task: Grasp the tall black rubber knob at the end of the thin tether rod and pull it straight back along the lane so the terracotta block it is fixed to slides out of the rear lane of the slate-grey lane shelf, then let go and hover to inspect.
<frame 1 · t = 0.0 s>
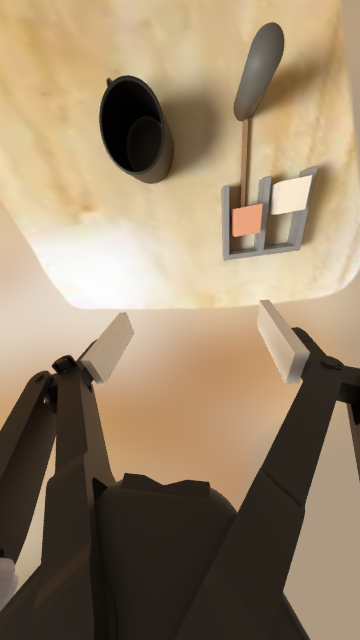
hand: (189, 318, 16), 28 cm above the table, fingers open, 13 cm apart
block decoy: (279, 198, 32), on the table
lane shelf: (258, 216, 34), on the table
mug: (145, 143, 30), on the table
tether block: (241, 220, 34), on the table
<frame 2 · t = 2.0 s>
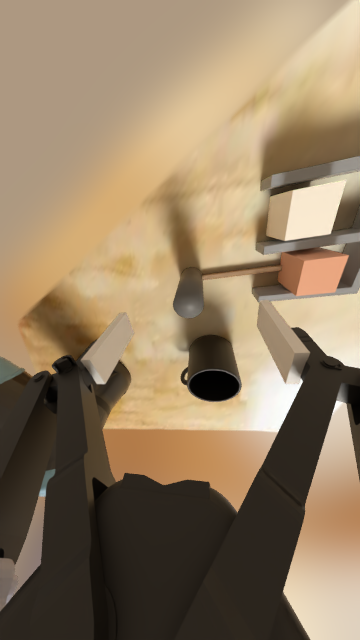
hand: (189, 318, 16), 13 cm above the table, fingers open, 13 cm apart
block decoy: (286, 213, 21), on the table
lane shelf: (301, 239, 23), on the table
mug: (205, 352, 36), on the table
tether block: (295, 264, 25), on the table
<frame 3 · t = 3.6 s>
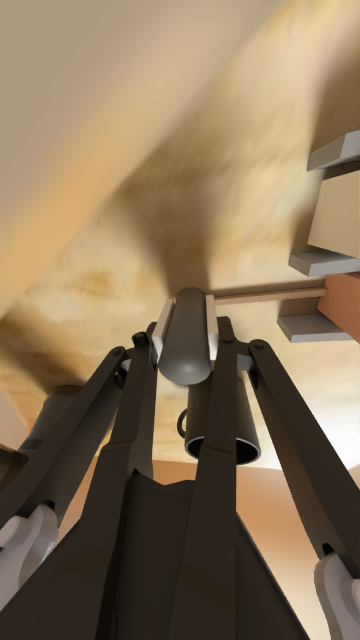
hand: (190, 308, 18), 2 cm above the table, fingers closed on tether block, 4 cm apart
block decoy: (344, 209, 13), on the table
mug: (209, 389, 29), on the table
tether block: (347, 287, 16), on the table, touching gripper
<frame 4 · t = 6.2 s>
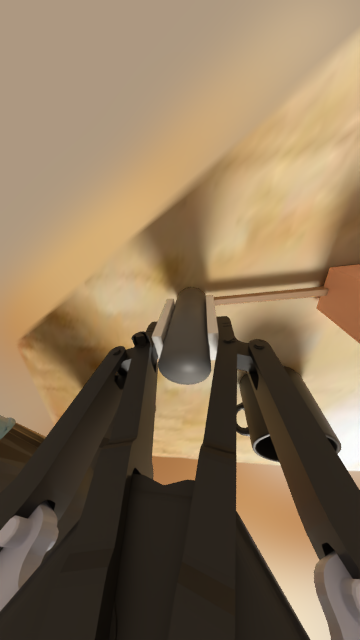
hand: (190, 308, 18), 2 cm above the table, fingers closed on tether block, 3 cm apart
mug: (260, 384, 27), on the table
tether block: (348, 286, 16), point 1 cm above the table, touching gripper
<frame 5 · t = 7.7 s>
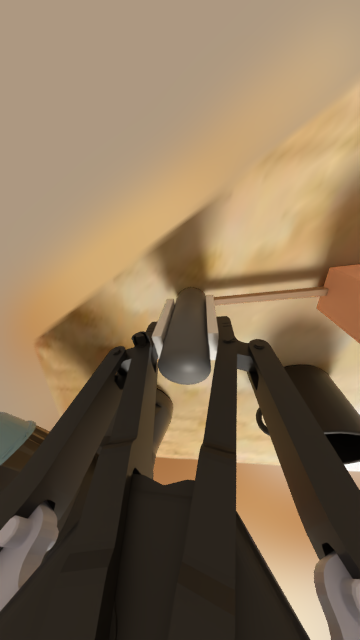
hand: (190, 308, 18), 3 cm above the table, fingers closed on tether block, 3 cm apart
mug: (284, 384, 27), on the table
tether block: (347, 286, 16), point 1 cm above the table, touching gripper
when the fingers open (2 cm above the table, at t = 8.6 s): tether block stays where it is, on the table.
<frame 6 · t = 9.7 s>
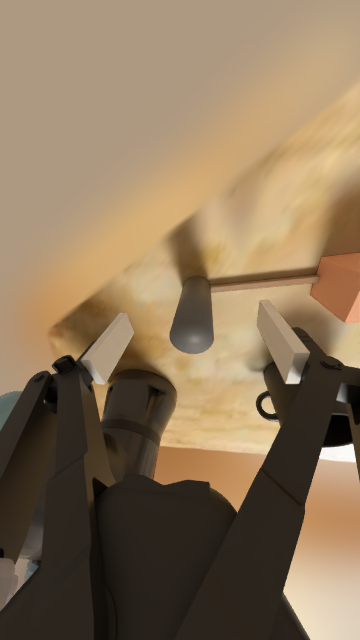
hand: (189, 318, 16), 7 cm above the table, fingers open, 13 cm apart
mug: (284, 373, 28), on the table
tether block: (338, 274, 18), on the table
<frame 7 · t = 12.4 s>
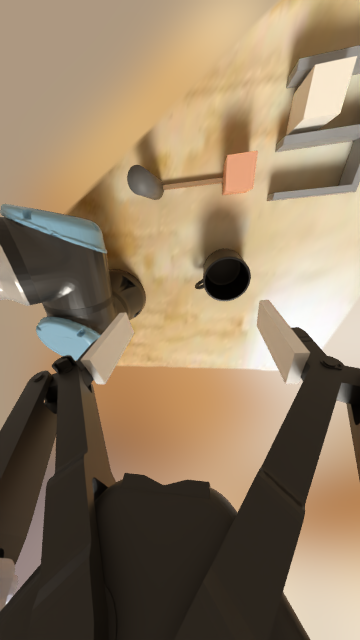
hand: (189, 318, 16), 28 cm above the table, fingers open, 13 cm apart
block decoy: (304, 114, 26), on the table
lane shelf: (314, 142, 27), on the table
mug: (217, 270, 41), on the table
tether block: (235, 179, 31), on the table
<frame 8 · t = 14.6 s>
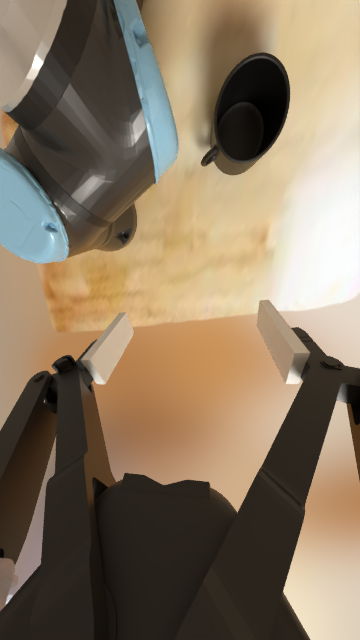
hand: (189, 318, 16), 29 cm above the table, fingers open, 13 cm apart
mug: (230, 146, 29), on the table
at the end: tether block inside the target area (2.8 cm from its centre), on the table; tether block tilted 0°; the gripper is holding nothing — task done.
